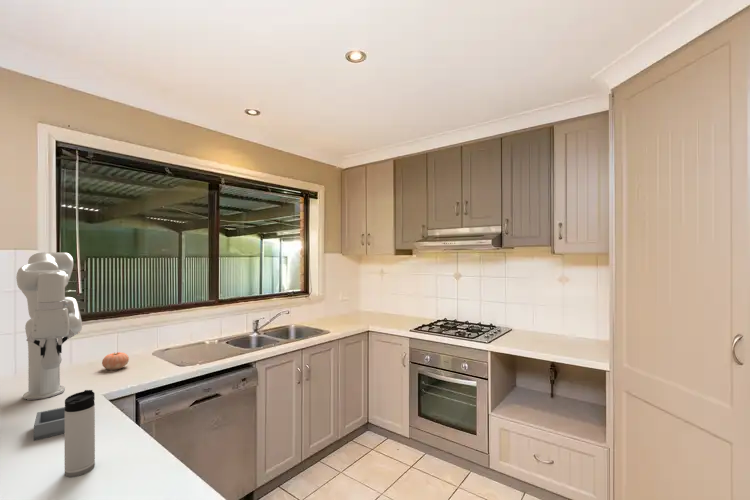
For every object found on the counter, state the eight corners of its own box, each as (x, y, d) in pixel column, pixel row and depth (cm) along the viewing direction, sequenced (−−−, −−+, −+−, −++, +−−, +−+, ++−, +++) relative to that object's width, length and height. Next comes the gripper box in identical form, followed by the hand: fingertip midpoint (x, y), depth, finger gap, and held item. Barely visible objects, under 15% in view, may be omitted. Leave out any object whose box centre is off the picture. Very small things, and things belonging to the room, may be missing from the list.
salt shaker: (59, 363, 139) (60, 329, 138) (63, 367, 135) (63, 331, 135) (39, 367, 134) (39, 332, 134) (42, 371, 130) (42, 334, 130)
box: (37, 426, 122) (37, 412, 122) (83, 415, 130) (83, 403, 130) (33, 440, 113) (33, 426, 113) (83, 428, 120) (83, 414, 120)
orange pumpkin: (104, 367, 184) (104, 351, 184) (130, 364, 189) (130, 348, 189) (99, 373, 174) (99, 356, 174) (126, 370, 179) (126, 354, 179)
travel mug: (101, 462, 101) (101, 389, 101) (83, 477, 95) (83, 399, 95) (77, 462, 101) (77, 389, 101) (58, 477, 94) (58, 399, 94)
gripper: (80, 302, 142) (79, 350, 143) (21, 306, 132) (21, 358, 132) (80, 305, 136) (80, 354, 137) (18, 309, 126) (18, 363, 126)
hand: (51, 355), depth 134 cm, fingers closed on salt shaker, 3 cm apart
